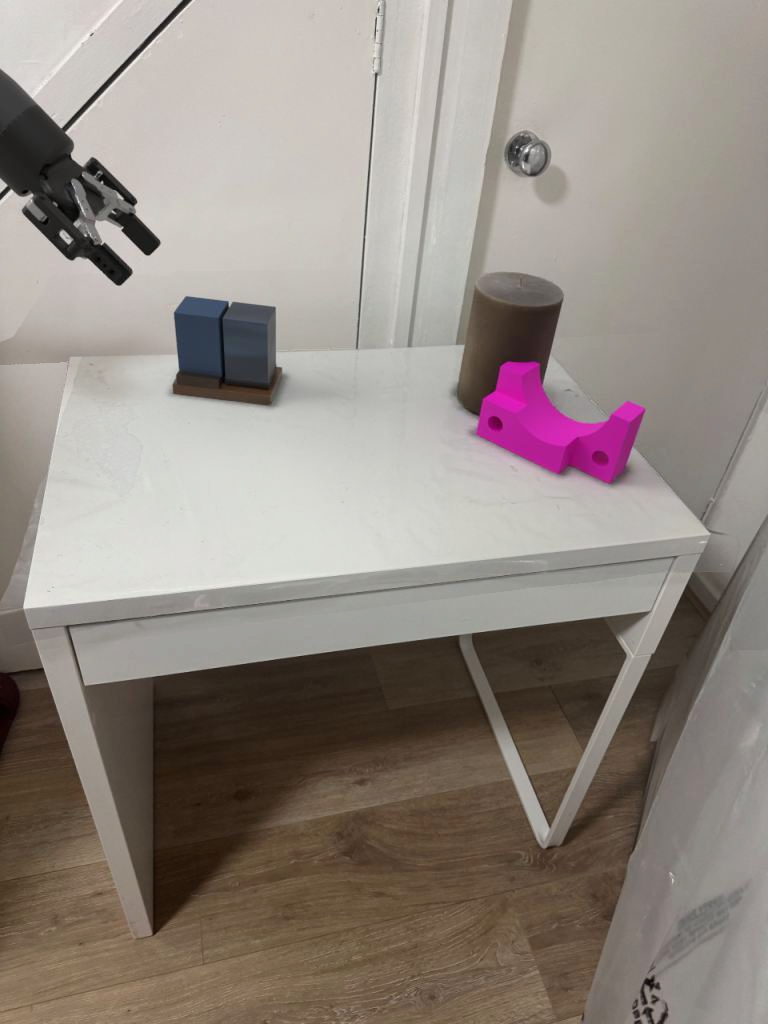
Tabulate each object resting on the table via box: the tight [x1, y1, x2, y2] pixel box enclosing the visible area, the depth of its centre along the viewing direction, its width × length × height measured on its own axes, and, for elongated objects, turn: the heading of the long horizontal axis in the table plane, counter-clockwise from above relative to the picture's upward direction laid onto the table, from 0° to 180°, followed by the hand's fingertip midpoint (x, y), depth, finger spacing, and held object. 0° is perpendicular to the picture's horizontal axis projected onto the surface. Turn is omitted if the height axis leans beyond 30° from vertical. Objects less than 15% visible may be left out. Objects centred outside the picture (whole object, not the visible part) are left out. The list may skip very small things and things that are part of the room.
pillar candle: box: [456, 271, 565, 416], centre depth 85 cm, size 10×10×15 cm
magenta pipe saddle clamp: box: [475, 361, 647, 484], centre depth 80 cm, size 15×6×8 cm, turn 51°
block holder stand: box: [172, 301, 283, 406], centre depth 85 cm, size 7×11×9 cm, turn 85°
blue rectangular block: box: [173, 295, 230, 385], centre depth 84 cm, size 4×5×8 cm
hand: (141, 264), depth 79 cm, fingers open, 8 cm apart
